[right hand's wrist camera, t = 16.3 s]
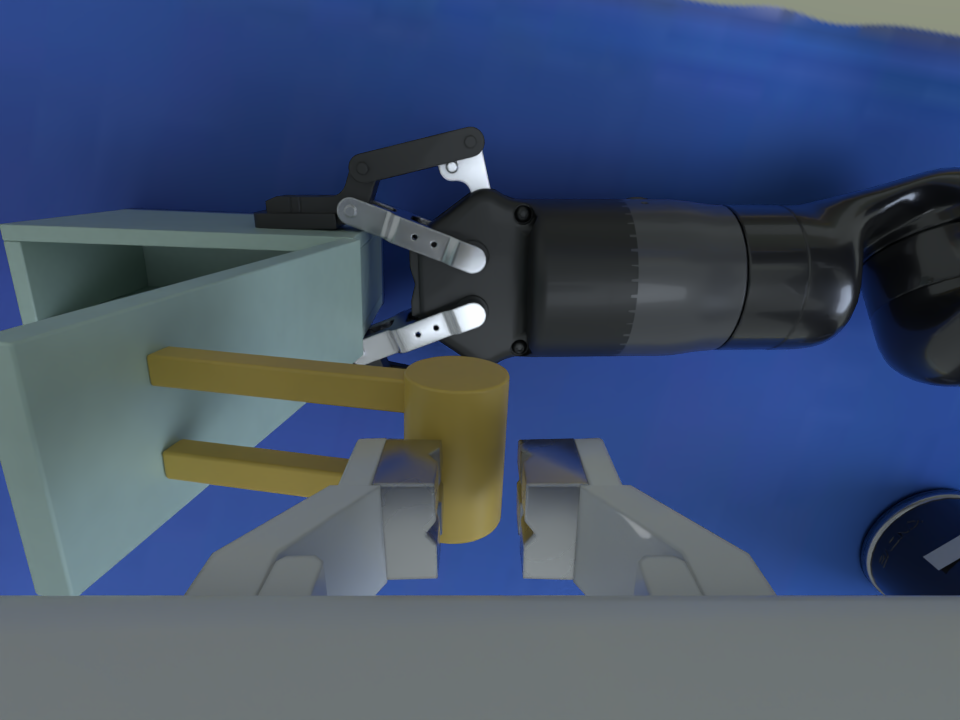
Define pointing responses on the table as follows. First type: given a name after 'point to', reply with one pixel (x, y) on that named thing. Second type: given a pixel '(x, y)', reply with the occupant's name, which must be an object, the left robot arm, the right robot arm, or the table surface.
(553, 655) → the right robot arm
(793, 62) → the table surface
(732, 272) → the left robot arm
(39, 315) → the chest
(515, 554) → the table surface
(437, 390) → the lid
